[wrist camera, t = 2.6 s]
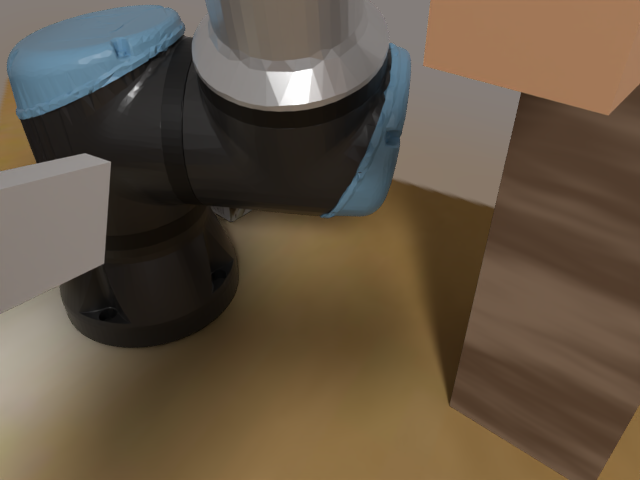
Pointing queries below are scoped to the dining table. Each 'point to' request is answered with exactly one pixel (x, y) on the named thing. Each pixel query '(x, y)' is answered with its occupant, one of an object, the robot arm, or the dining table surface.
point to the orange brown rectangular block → (541, 47)
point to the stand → (560, 289)
